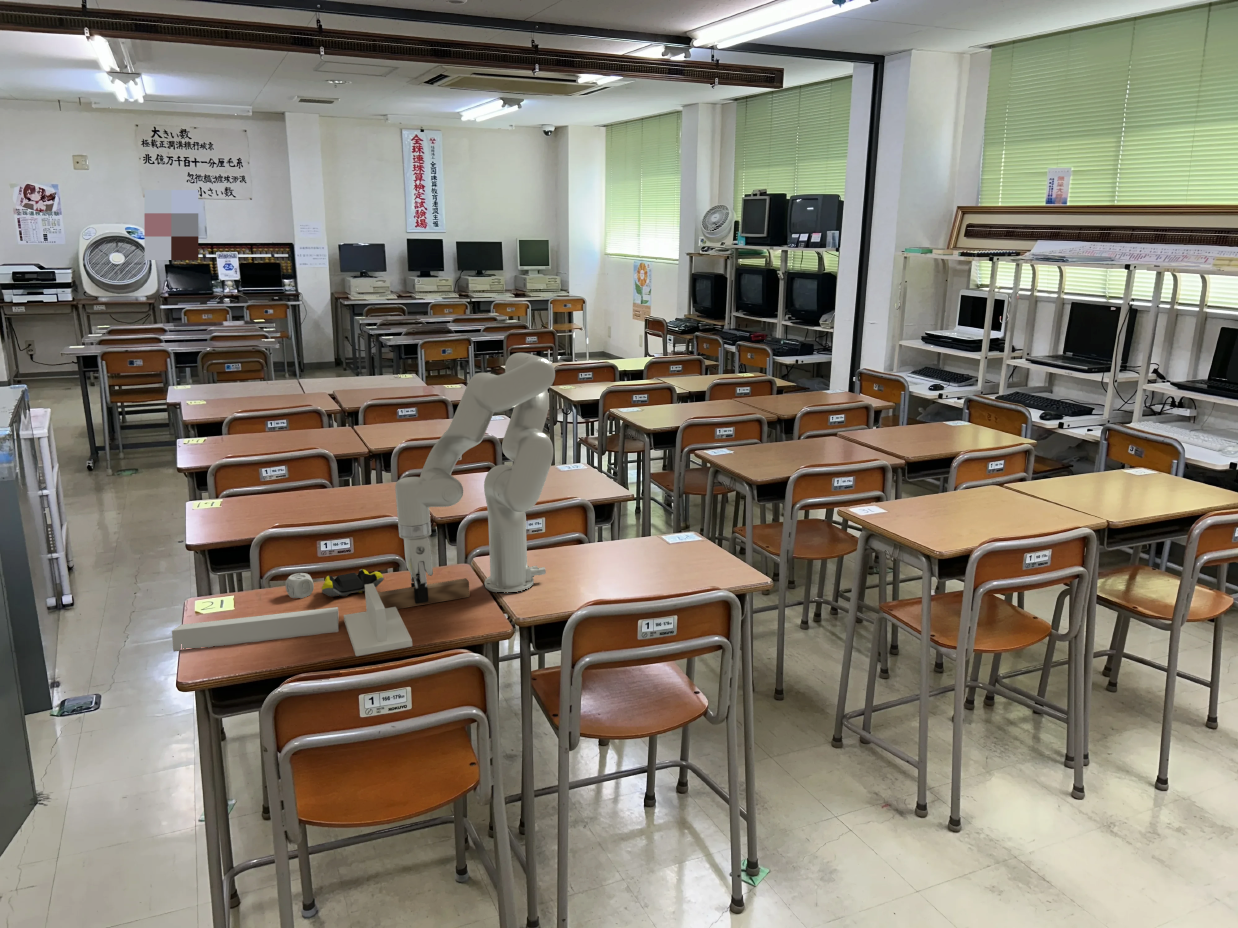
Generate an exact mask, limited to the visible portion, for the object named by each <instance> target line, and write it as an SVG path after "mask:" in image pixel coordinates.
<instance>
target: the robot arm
mask: <svg viewBox="0 0 1238 928" xmlns="http://www.w3.org/2000/svg"><path fill="white" fill-rule="evenodd" d="M555 378H556V371H555V367H554V365H553V363H552V362H551V361H549V360H548V359H547V358H545V357H542V356H539V355H534V354H531V353H526V352H516V353H513V354H511V355H510V356H509V357H508V358H507V360H506V361H505V366H504V372H503V373H501V374H498V375H496V374H494V373H489V372H478V373H475V374H474V375H472V377H471V378H470V380H469V381H468V383H467V385H466V386H465V388H464V389H465V390H464V391H463V394H462V396H461V399H460V401H459V404H458V406H457V408H456V410H455V413H454V416H452V417H453V418H452V419H451V422H450V425H449V426H448V428H447V430H445V432H444V433H443V434H442V435H441V436H440V438H439V439H438V440H437V441H436V443H435V444H434V445H433V447H432V448H431V450H430V452H429V454H428V456H427V458H426V460H425V463H424V465H423V467H422V470H421V473H420V476H407V477H403V478H399V479H398V480H397V481H396V482H395V485H394V486H395V489H394V490H395V500H396V503H395V504H396V512H397V514H396V515H397V524H398V525H397V526H398V536H399V538H401V539H403V545H404V557H405V565H406V569H407V570H408V572H409V574H410V581H411V583H410V587H415V588H414V597H415V603H416V604H419V603H424V602H428V587H427V584H428V583H427V575H428V576H430V577H432V576H433V574H434V572H433V562H432V561H433V559H432V553H431V546H430V545H431V544H430V539H429V536H431V534H432V525H431V515H430V514H431V513H430V508H444V507H445V508H449V507H452V506H455V505H456V504H458V503H459V502H460V501H461V499H462V498H463V496H464V486H463V485H462V483H461V482H460V480H458V479H457V478H456V477H454V476H453V475H452V472H453V471H454V469H455V465H456V464H457V462H458V461H459V459H460V458H461V457H462V455H463V454H464V453H466V452H467V451H469V450H470V449H472V448H474V447H476V446H477V445H479V444H480V443H481V442H482V441H483V440H484V438H485V435H486V433H487V430H488V428H489V425H490V422H491V421H492V418H493V415H494V414H495V413H502V412H505V411H509V410H511V409H513V410H512V412H511V413H512V414H511V416H510V419H509V422H508V425H507V428H506V430H505V433H504V436H503V439H502V443H501V451H502V453H503V454H504V455H505V457H506V458H507V459H508V460H510V461H512V462H513V463H512V466H511V465H509V464H499V465H498V464H497V465H495V466H494V467H492V468H491V469H490V470H489V471H488V472H487V474H486V475H485V477H484V482H483V483H484V484H483V488H484V489H483V490H484V491H483V492H484V496H485V497H484V498H485V503H486V507H487V508H486V510H487V521H488V546H489V574H490V576H488V577H487V578H485V580H484V587H485V589H487V591H490V592H493V593H497V592H504V593H503V594H509V593H508V592H517V591H521V592H523V591H522V590H525V589H527V590H529V589H531V588H530V587H531V586H532V585H533V586H534V582H535V581H534V577H535V576H543V575H546V574H547V573H546V571H547V570H546V567H544V566H543V567H538V565H534V566H533V565H532V566H529V565H528V550H527V549H528V548H527V547H528V542H527V516H526V512H528V511H529V510H531V509H533V508H534V506H536V505H537V503H538V501H539V499H540V496H541V494H542V492H543V488H544V486H545V483H546V481H547V477H548V475H549V471H550V469H551V465H552V462H553V460H554V446H553V442H552V440H551V439H550V437H549V436H548V435H547V434H546V433H544V432H543V430H544V427H545V424H546V420H547V417H548V413H549V407H550V397H549V391H548V389H550V388H551V386H552V385H553V383H554V381H555ZM533 586H532V587H533ZM528 588H529V589H528ZM525 591H526V590H525ZM505 592H507V593H505ZM517 593H518V592H517Z"/></svg>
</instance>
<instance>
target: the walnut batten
mask: <svg viewBox="0 0 1238 928" xmlns="http://www.w3.org/2000/svg"><path fill="white" fill-rule="evenodd" d="M427 587H428V602H424V603H419V604H416V603H415V597H414V588H415V587H411V586H409V587H403V588H396V589H391V590H390V589H389V590H386V591H385V590H384V591H377V592H378V594H379V597H380V599H381V601H382V603H383V605H384V607H385V608H391V607H396V608H397V610H399V609H405V608H410V607H416V606H424V605H428V604H434V603H435V604H436V603H439V602H440V603H441V602H446V601H452V600H453V601H454V600H459V599H464V598H470V597H471V596H470V582H469V580H468V578H467V577H466V578H460V579H459V578H458V579H452V580H447V581H440V582H434V583H427Z"/></svg>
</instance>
